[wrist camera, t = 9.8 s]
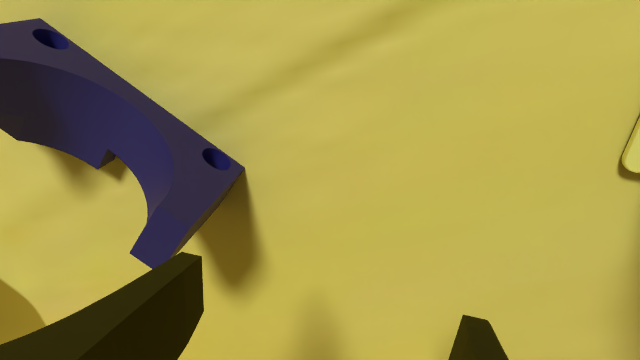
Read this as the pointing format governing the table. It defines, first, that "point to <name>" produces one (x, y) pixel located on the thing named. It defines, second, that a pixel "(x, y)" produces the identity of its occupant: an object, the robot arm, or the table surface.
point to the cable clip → (111, 132)
